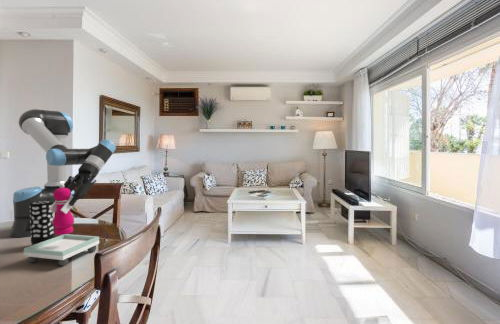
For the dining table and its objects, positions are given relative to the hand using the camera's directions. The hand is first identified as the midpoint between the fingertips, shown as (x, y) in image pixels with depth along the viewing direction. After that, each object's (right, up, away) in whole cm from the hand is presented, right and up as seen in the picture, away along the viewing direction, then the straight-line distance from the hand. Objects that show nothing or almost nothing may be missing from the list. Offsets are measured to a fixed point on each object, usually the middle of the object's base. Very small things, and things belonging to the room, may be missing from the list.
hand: (57, 211), depth 109 cm
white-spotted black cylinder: (-18, -19, +15) cm, 30 cm away
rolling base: (0, -19, +3) cm, 19 cm away
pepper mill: (+1, -9, +3) cm, 10 cm away
